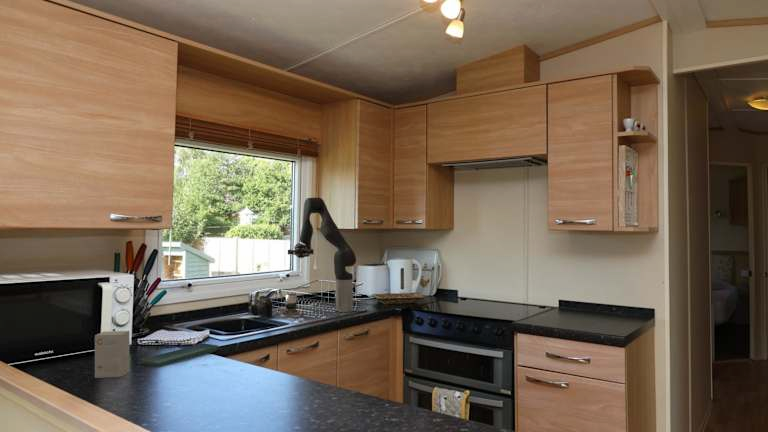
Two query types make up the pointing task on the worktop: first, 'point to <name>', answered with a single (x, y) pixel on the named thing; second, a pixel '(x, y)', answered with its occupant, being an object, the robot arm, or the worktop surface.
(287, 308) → the lens
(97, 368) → the small box
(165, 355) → the dark green board
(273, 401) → the worktop surface
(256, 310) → the camera
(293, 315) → the base board
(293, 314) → the mount ring
